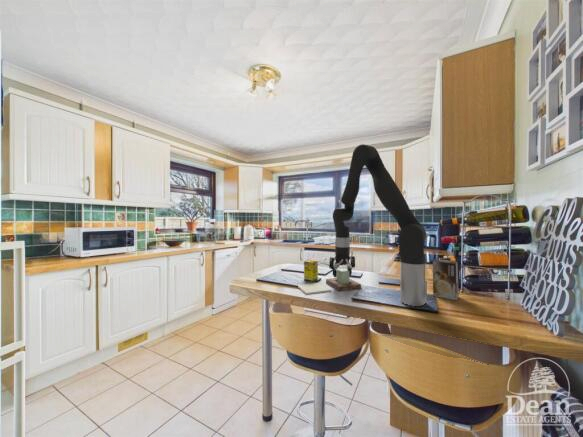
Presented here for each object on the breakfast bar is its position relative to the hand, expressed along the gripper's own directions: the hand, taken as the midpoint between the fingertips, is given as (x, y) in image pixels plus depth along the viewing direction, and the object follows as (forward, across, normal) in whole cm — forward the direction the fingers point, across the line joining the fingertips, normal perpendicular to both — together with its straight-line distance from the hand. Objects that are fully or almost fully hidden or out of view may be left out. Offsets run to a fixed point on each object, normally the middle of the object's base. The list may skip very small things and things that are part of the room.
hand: (342, 276), depth 123 cm
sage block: (+5, 0, 0) cm, 5 cm away
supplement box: (+5, -12, +15) cm, 19 cm away
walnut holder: (+5, 0, 0) cm, 5 cm away
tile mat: (+5, -17, 0) cm, 17 cm away
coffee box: (+4, +35, -30) cm, 47 cm away
